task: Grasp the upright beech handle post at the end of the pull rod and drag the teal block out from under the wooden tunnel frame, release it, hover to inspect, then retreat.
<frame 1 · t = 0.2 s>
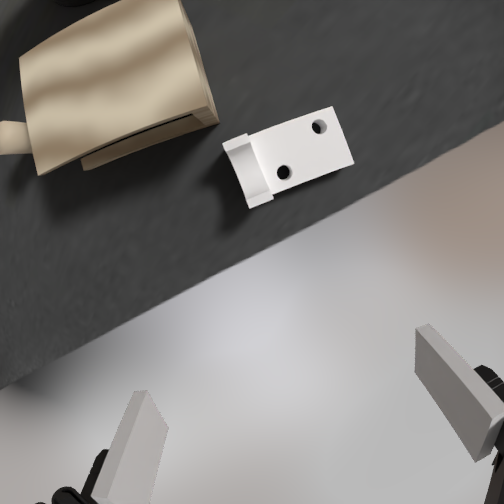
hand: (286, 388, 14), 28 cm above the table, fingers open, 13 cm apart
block: (151, 89, 35), on the table
wooden tunnel frame: (137, 95, 35), on the table
bracket: (287, 154, 38), on the table
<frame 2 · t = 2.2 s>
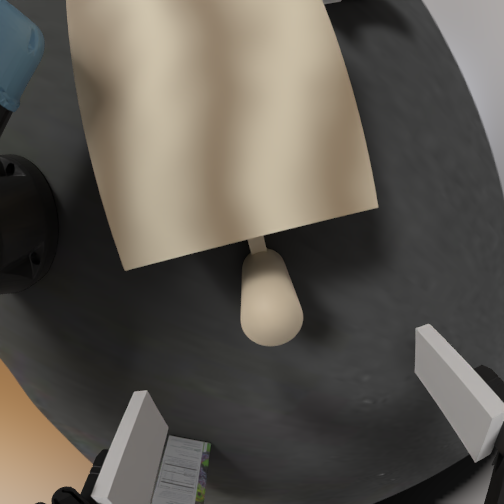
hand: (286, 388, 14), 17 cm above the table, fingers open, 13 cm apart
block: (216, 88, 25), on the table
wooden tunnel frame: (222, 108, 26), on the table
syrup box: (187, 448, 37), on the table
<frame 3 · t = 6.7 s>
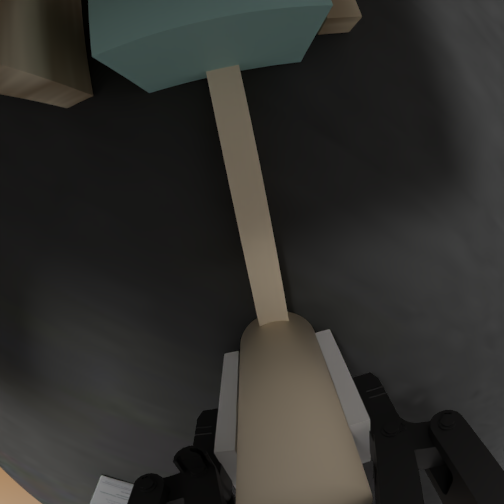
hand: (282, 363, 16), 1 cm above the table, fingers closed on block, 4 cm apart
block: (210, 12, 12), on the table, touching gripper
syrup box: (132, 494, 21), on the table
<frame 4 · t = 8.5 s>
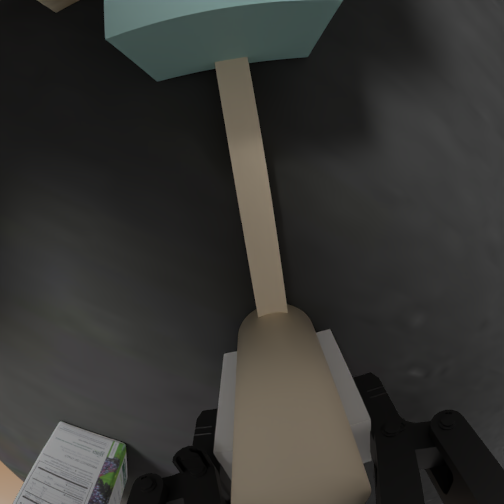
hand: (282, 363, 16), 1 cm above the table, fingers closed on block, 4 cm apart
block: (221, 5, 12), on the table, touching gripper
syrup box: (94, 448, 20), on the table
when the fingers open (1 cm above the table, at t = 9.4 s): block stays where it is, on the table.
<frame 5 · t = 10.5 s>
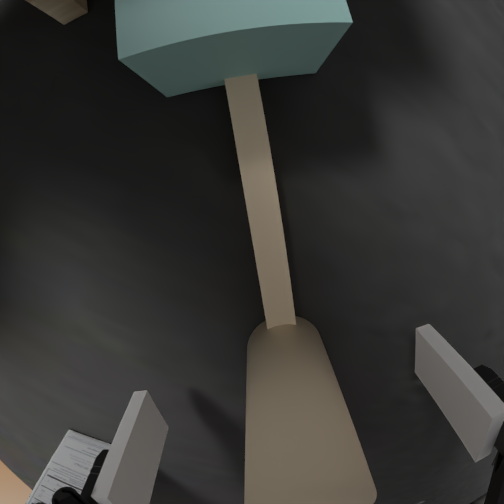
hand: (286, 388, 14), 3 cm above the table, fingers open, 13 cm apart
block: (229, 20, 12), on the table
syrup box: (103, 456, 20), on the table
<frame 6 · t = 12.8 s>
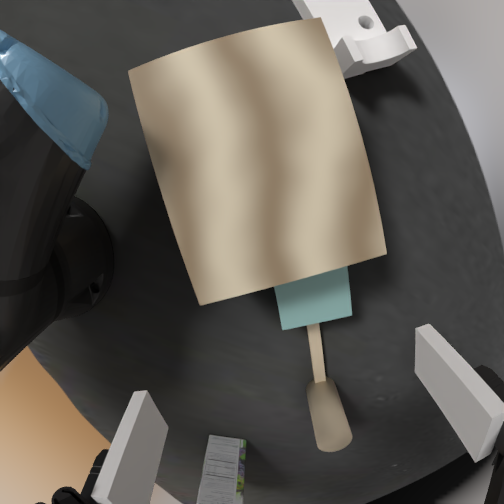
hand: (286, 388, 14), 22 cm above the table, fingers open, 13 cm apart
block: (304, 270, 35), on the table
wooden tunnel frame: (258, 159, 32), on the table
bracket: (337, 26, 29), on the table
syrup box: (224, 446, 43), on the table
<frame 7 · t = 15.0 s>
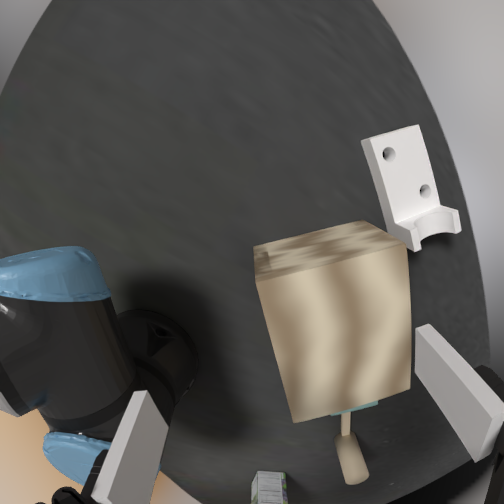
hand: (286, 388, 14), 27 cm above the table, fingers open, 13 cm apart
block: (344, 368, 45), on the table
wooden tunnel frame: (322, 297, 42), on the table
bracket: (397, 181, 38), on the table
syrup box: (267, 477, 53), on the table
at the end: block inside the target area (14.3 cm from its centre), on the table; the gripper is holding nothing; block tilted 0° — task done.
